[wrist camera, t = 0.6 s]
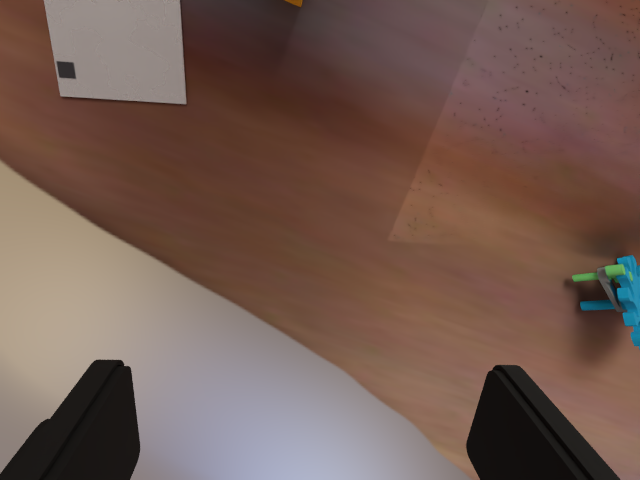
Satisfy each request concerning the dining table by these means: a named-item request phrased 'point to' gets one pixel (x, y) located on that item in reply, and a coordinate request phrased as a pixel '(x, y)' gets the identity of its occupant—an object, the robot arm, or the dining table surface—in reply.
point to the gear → (618, 292)
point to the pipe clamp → (295, 2)
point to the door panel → (118, 49)
